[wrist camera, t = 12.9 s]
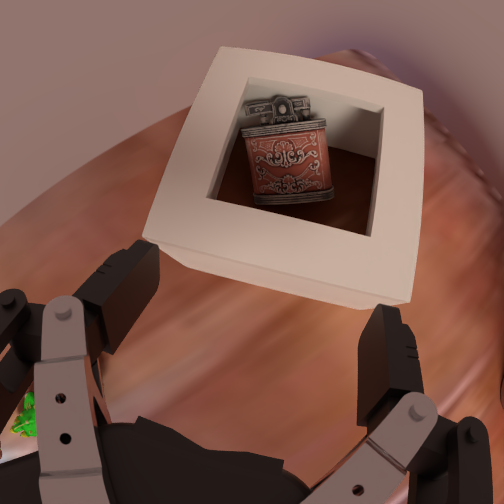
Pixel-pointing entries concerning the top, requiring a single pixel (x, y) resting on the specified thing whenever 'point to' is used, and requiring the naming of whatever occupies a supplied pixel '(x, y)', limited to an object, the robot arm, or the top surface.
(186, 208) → the slot box
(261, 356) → the top surface
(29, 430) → the green elongated figure
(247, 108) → the lighter
